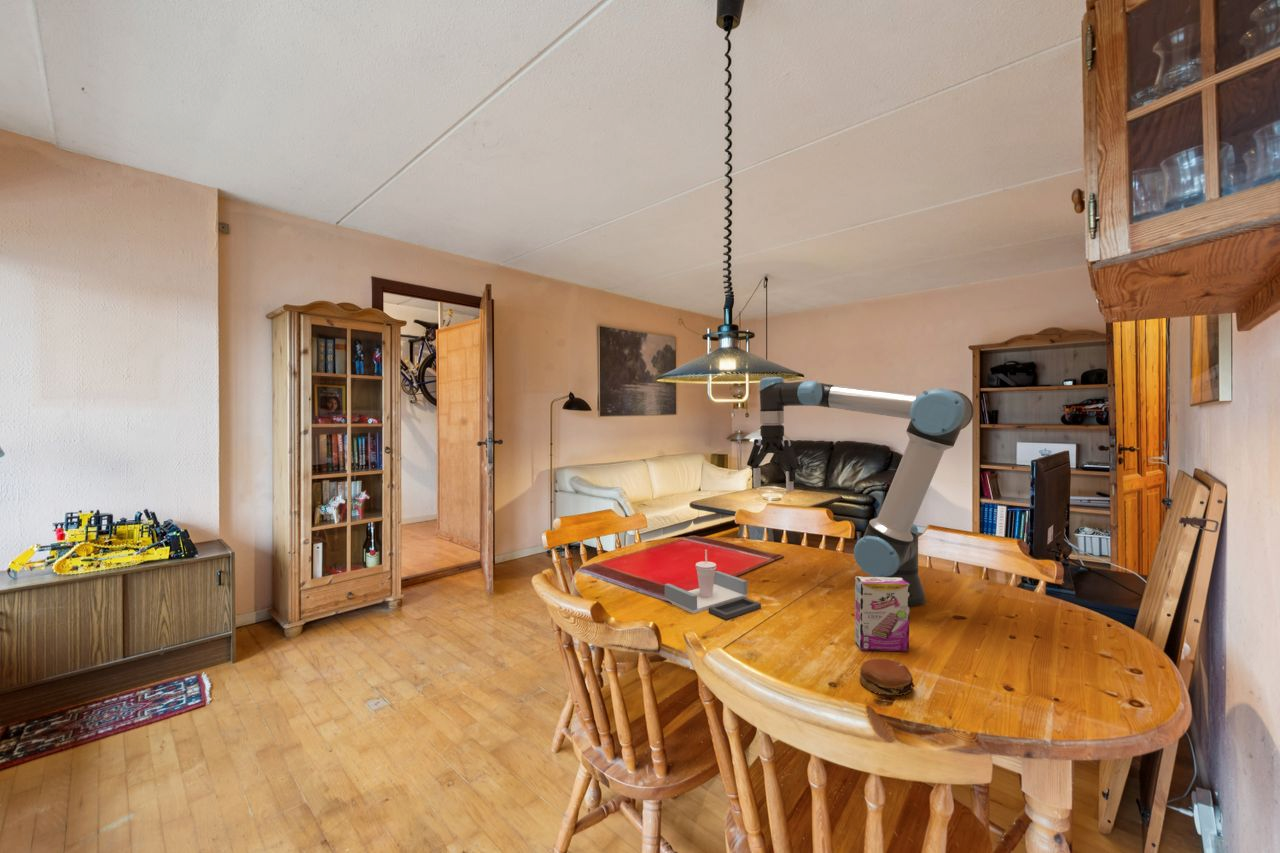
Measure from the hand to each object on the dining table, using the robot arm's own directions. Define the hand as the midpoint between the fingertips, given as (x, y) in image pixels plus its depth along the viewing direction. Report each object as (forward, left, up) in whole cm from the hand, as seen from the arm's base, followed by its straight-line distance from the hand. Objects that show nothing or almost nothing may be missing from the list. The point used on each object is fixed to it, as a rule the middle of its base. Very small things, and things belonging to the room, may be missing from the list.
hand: (773, 489), depth 166 cm
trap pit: (-7, +26, -32) cm, 42 cm away
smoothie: (+5, +26, -31) cm, 41 cm away
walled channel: (+5, +26, -32) cm, 41 cm away
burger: (-55, +31, -32) cm, 71 cm away
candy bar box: (-45, +15, -32) cm, 57 cm away
